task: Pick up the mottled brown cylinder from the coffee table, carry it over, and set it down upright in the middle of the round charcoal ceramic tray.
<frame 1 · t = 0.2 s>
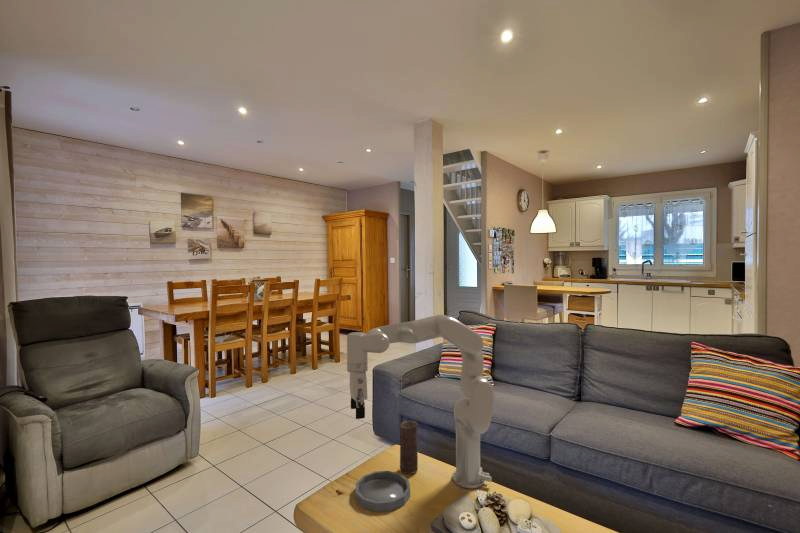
hand: (357, 413, 133), 31 cm above the table, tool pointing down, fingers open, 9 cm apart
mottled brown cylinder: (408, 471, 150), on the table
round tray: (382, 493, 135), on the table
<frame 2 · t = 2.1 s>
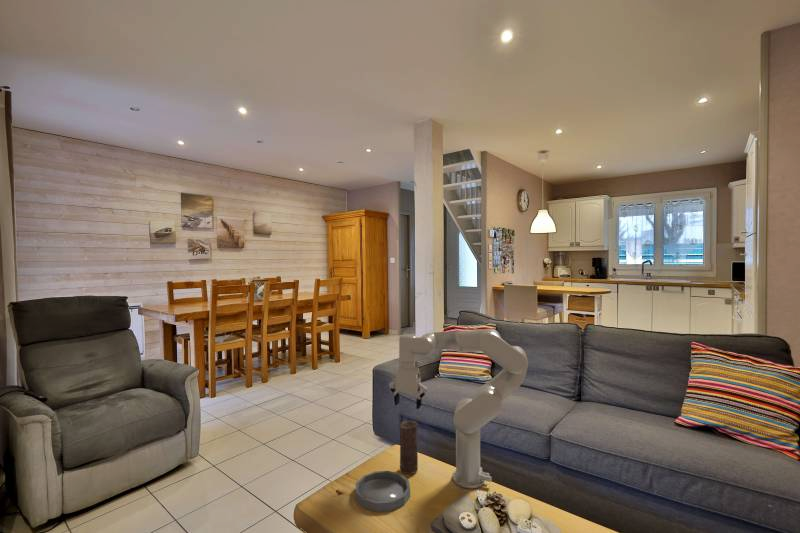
hand: (407, 406, 151), 27 cm above the table, tool pointing down, fingers open, 9 cm apart
nothing on the table moved.
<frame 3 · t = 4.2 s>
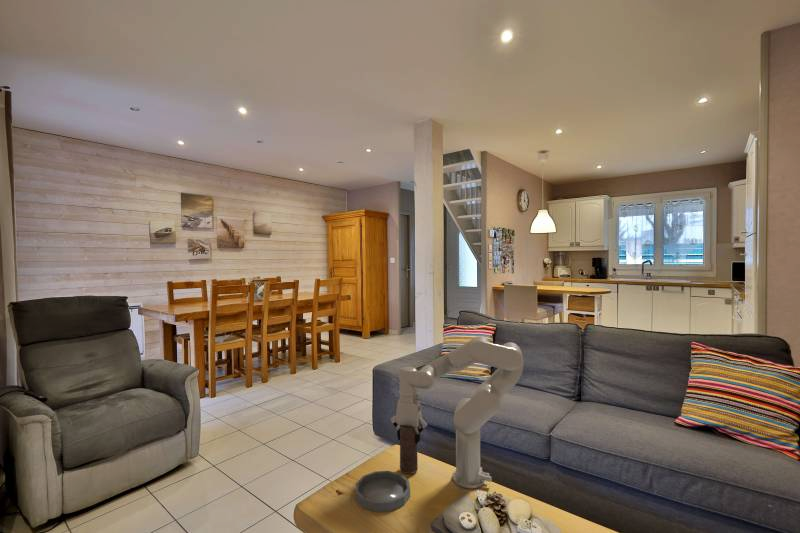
hand: (408, 440, 150), 13 cm above the table, tool pointing down, fingers closed on mottled brown cylinder, 7 cm apart
mottled brown cylinder: (408, 471, 150), on the table, touching gripper
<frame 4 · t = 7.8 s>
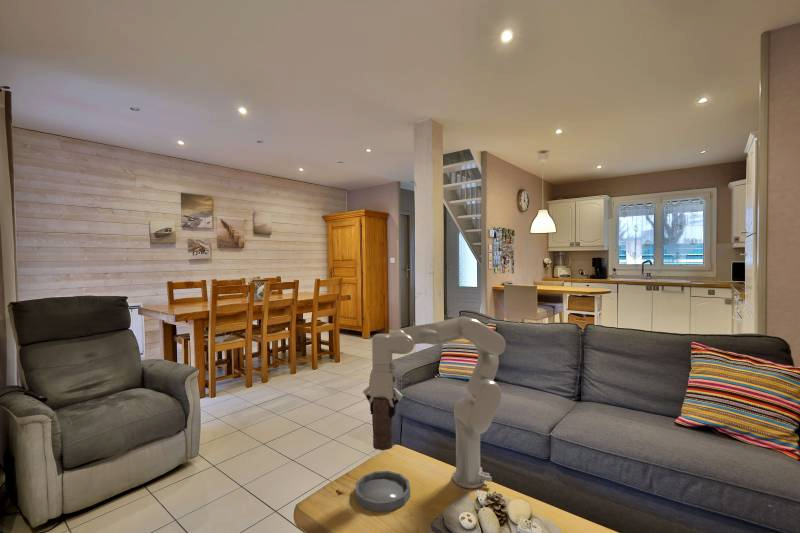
hand: (382, 414, 136), 30 cm above the table, tool pointing down, fingers closed on mottled brown cylinder, 7 cm apart
mottled brown cylinder: (382, 449, 135), point 17 cm above the table, touching gripper
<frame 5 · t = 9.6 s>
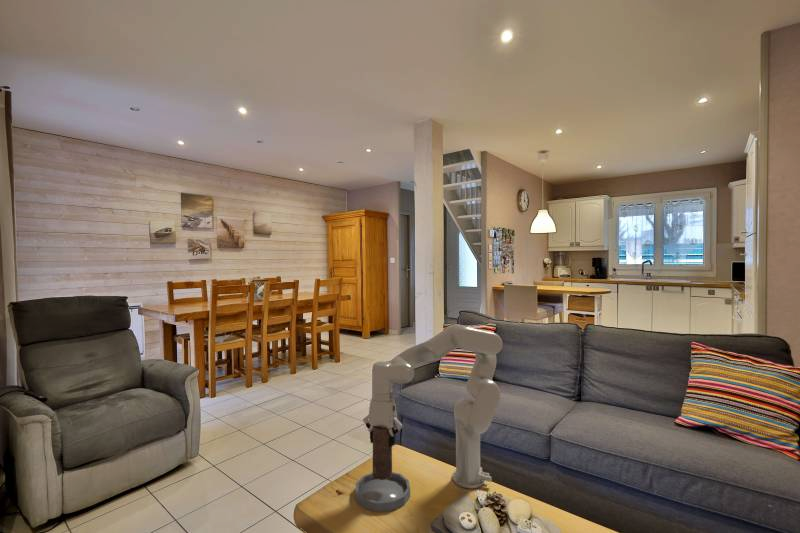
hand: (382, 443, 135), 19 cm above the table, tool pointing down, fingers closed on mottled brown cylinder, 7 cm apart
mottled brown cylinder: (382, 478, 135), point 6 cm above the table, touching gripper
when the fingers open (16 cm above the table, at t = 11.3 s): mottled brown cylinder drops 2 cm, resting on round tray.
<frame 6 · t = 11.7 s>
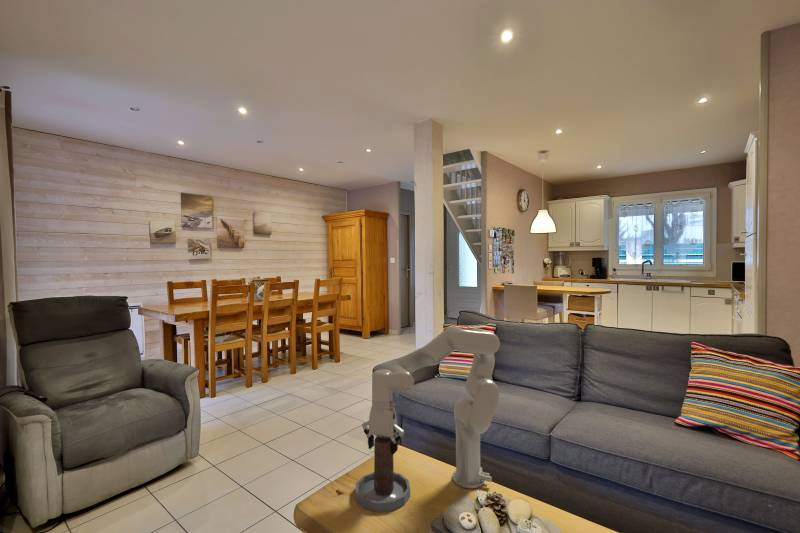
hand: (382, 449, 135), 16 cm above the table, tool pointing down, fingers open, 9 cm apart
mottled brown cylinder: (383, 491, 135), point 1 cm above the table, touching round tray
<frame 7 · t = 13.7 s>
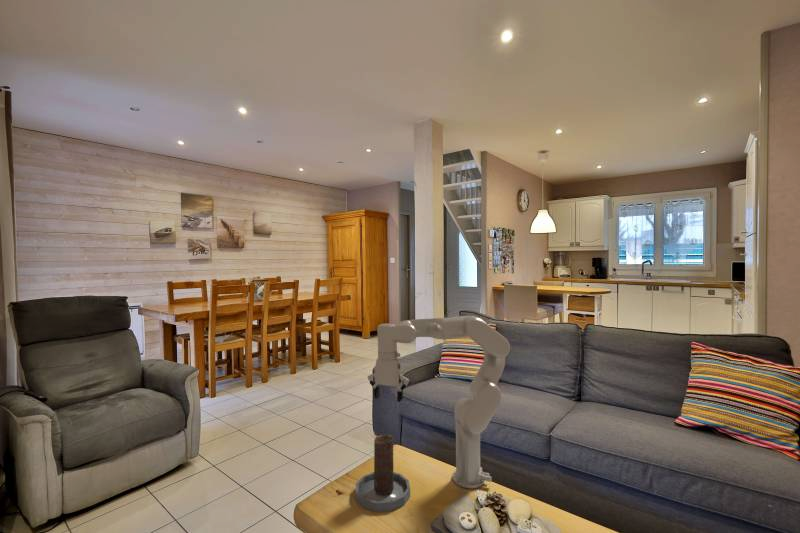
hand: (388, 399, 141), 33 cm above the table, tool pointing down, fingers open, 9 cm apart
nothing on the table moved.
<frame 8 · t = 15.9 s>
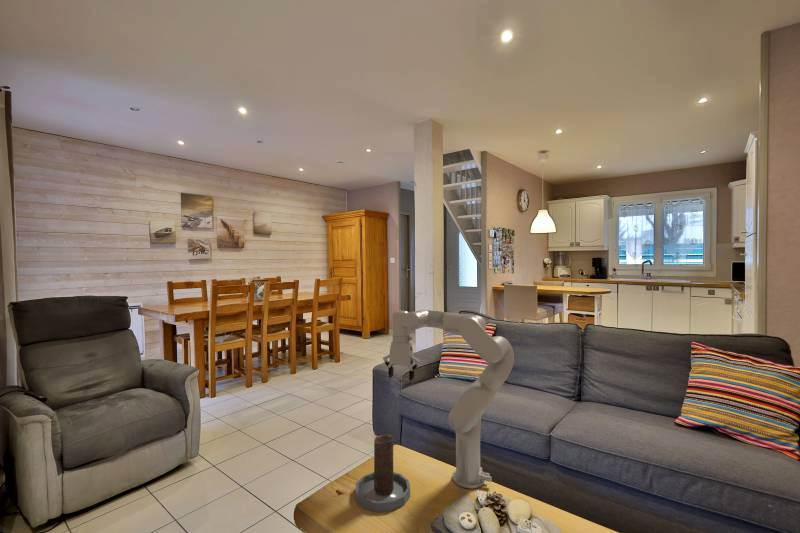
hand: (401, 378, 159), 36 cm above the table, tool pointing down, fingers open, 9 cm apart
nothing on the table moved.
at the end: mottled brown cylinder inside the target area on the round tray (0.4 cm from its centre), point 0.8 cm above the round tray's base; mottled brown cylinder tilted 0°; the gripper is holding nothing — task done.
